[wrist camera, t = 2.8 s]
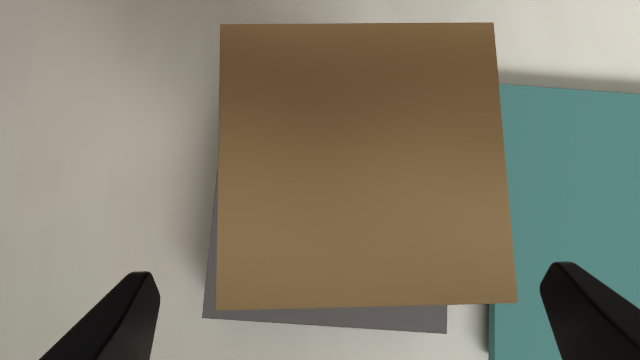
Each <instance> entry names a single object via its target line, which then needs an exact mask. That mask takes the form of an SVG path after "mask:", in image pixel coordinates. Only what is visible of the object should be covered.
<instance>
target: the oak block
mask: <svg viewBox="0 0 640 360" xmlns="http://www.w3.org/2000/svg"><path fill="white" fill-rule="evenodd" d="M497 303H518V297H517V286H516V275H515V263H514V252H513V240H512V229H511V218H510V206H509V195H508V183H507V172H506V161H505V149H504V138H503V126H502V115H501V104H500V92H499V81H498V69H497V58H496V47H495V35H494V24H493V23H362V24H230V25H220V86H219V150H218V213H217V277H216V311H220V310H260V309H300V308H339V307H379V306H418V305H458V304H497Z"/></svg>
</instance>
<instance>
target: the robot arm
mask: <svg viewBox="0 0 640 360" xmlns="http://www.w3.org/2000/svg"><path fill="white" fill-rule="evenodd" d="M540 295H541V298H542V302H543V305H544V308H545V311H546V314H547V317H548V320H549V323H550V326H551V329H552V332H553V335H554V338H555V341H556V344H557V347H558V350H559V352H560V355H561V358H562V360H640V309H639V308H638V307H636V306H635V305H634V304H632V303H631V302H629V301H628V300H626V299H625V298H624V297H622V296H621V295H619V294H618V293H617V292H615V291H614V290H612V289H611V288H610V287H608V286H607V285H605V284H604V283H603V282H601V281H600V280H598V279H597V278H595V277H594V276H593V275H591V274H590V273H588V272H587V271H586V270H584V269H583V268H581V267H580V266H579V265H577V264H575V263H573V262H569V261H563V262H553V263H552V264H551V265H550V266H549V268H548V270H547V272H546V274H545V276H544V278H543V279H542V281H541V283H540ZM159 306H160V294H159V291H158V288H157V286H156V283H155V281H154V279H153V276H152V274H151V273H150V272H147V271H143V272H131V273H129V274H128V275H126V276H125V277H124V278H123V279H122V280H121V281H120V282H119V283H118V284H117V285H116V286H115V287H114V288H113V289H112V290H111V291H110V292H109V293H108V294H107V295H106V296H105V297H104V298H103V299H102V300H100V301H99V302H98V303H97V304H96V305H95V306H94V307H93V308H92V309H91V310H90V311H89V312H88V313H87V314H86V315H85V316H84V317H83V318H82V319H81V320H80V321H79V322H78V323H77V324H76V325H75V326H73V327H72V328H71V329H70V330H69V331H68V332H67V333H66V334H65V335H64V336H63V337H62V338H61V339H60V340H59V341H58V342H57V343H56V344H55V345H54V346H53V347H52V348H51V349H50V350H49V351H48V352H46V353H45V354H44V355H43V356H42V357H41V358H40V359H39V360H149V359H150V354H151V349H152V343H153V338H154V333H155V328H156V322H157V317H158V312H159Z"/></svg>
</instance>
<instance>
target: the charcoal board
mask: <svg viewBox="0 0 640 360" xmlns="http://www.w3.org/2000/svg"><path fill="white" fill-rule="evenodd" d="M217 213H218V171H217V180H216V190H215V199H214V209H213V218H212V228H211V237H210V247H209V257H208V266H207V276H206V285H205V295H204V304H203V314H202V318H210V319H225V320H241V321H256V322H272V323H287V324H303V325H318V326H334V327H349V328H365V329H380V330H395V331H411V332H426V333H442V334H447V305H418V306H379V307H339V308H300V309H260V310H220V311H216V277H217Z"/></svg>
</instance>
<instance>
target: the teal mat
mask: <svg viewBox="0 0 640 360" xmlns="http://www.w3.org/2000/svg"><path fill="white" fill-rule="evenodd" d="M499 92H500V104H501V115H502V126H503V138H504V149H505V161H506V172H507V183H508V195H509V206H510V218H511V229H512V240H513V252H514V263H515V275H516V286H517V297H518V303H497V304H489V360H562V358H561V355H560V352H559V350H558V347H557V344H556V341H555V338H554V335H553V332H552V329H551V326H550V323H549V320H548V317H547V314H546V311H545V308H544V305H543V302H542V298H541V295H540V283H541V281H542V279H543V278H544V276H545V274H546V272H547V270H548V268H549V266H550V265H551V264H552V263H553V262H563V261H569V262H573V263H575V264H577V265H579V266H580V267H581V268H583V269H584V270H586V271H587V272H588V273H590V274H591V275H593V276H594V277H595V278H597V279H598V280H600V281H601V282H603V283H604V284H605V285H607V286H608V287H610V288H611V289H612V290H614V291H615V292H617V293H618V294H619V295H621V296H622V297H624V298H625V299H626V300H628V301H629V302H631V303H632V304H634V305H635V306H636V307H638V308H639V309H640V94H630V93H616V92H603V91H589V90H575V89H561V88H547V87H534V86H520V85H506V84H499Z"/></svg>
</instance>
